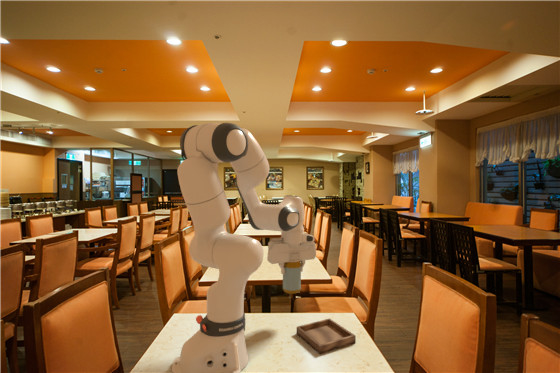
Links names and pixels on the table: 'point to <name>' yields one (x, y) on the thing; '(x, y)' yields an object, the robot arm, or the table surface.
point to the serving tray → (325, 335)
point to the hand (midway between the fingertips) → (292, 272)
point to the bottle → (292, 274)
